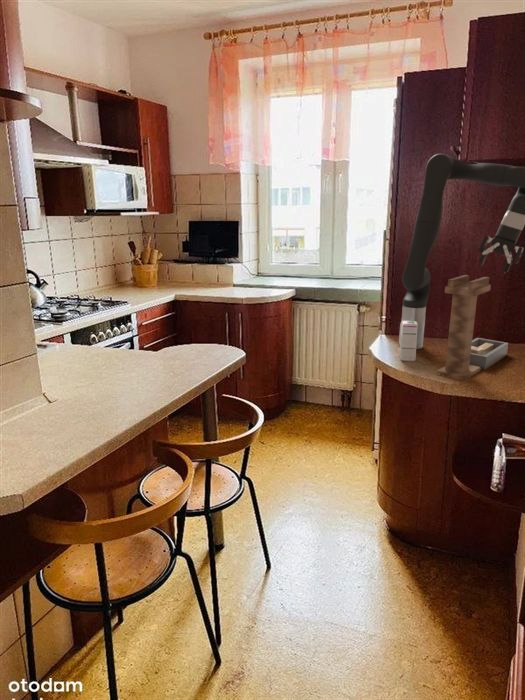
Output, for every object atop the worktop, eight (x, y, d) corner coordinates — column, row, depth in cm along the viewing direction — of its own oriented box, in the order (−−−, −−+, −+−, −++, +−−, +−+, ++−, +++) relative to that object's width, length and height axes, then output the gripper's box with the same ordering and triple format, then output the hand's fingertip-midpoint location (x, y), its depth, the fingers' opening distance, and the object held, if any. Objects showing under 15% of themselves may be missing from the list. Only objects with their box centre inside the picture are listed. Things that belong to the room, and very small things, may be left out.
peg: (465, 359, 191) (466, 348, 189) (483, 349, 204) (484, 338, 202) (477, 362, 188) (478, 350, 187) (494, 351, 201) (496, 340, 200)
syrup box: (415, 361, 193) (418, 324, 189) (399, 360, 194) (402, 323, 190) (414, 357, 198) (417, 320, 194) (398, 356, 199) (401, 320, 195)
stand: (436, 374, 178) (446, 279, 169) (452, 364, 188) (462, 274, 179) (465, 380, 172) (476, 282, 162) (480, 370, 182) (491, 277, 172)
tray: (452, 363, 190) (453, 350, 189) (475, 349, 207) (477, 337, 206) (484, 370, 182) (486, 356, 181) (506, 355, 199) (508, 342, 198)
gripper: (489, 219, 182) (470, 262, 188) (529, 231, 174) (508, 276, 180) (495, 220, 188) (476, 262, 194) (534, 232, 180) (513, 275, 186)
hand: (492, 269), depth 187 cm, fingers open, 8 cm apart
